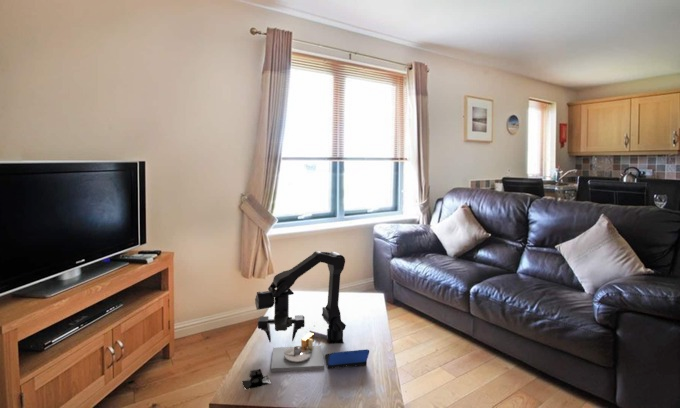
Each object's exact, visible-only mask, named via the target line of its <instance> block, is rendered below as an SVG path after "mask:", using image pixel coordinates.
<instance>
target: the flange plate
mask: <svg viewBox="0 0 680 408" xmlns="http://www.w3.org/2000/svg"><path fill="white" fill-rule="evenodd" d="M308 339H313V343H314V342H315V333H313V332H309V333H307V334H306V335H305V336H304V337H303V338H302V339H301V341H300V342H301V345H295V346H294V345H293V346H289V347H290V348H288V349H287V350H286V351H285V353H284V357H285V359H286V360H287V361H289V362H292V363H301V362H304V361H307V360H308V359H309V358H310V356H311V352H310V350H309V349H308V348H307V347H308Z"/></svg>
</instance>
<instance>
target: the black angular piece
mask: <svg viewBox="0 0 680 408" xmlns="http://www.w3.org/2000/svg"><path fill="white" fill-rule="evenodd" d="M248 377H249V379H245V380H242V382H243V383H242V386H243V385H244V387H245V388H246V389H247V390H252V389H255V388H260V387H263V386H267V385H271V384H272V382H271V380H270V378H269V375H263V372H262V370H261V368H259V369H253V370H250V372H249V375H248ZM244 387H243V388H244ZM249 388H250V389H249Z"/></svg>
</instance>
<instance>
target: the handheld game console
mask: <svg viewBox="0 0 680 408" xmlns="http://www.w3.org/2000/svg"><path fill="white" fill-rule="evenodd" d="M369 354H370V350H369V349H357V350H345V351H337V352H330V353H325V355H324V358H325V364H326V366H327V369H328V370H332V369H340V368H341V369H342V368H345V367H351V368H352V367H361V366H362V367H364V366H367V364H368V363H367V361H368V358H369Z"/></svg>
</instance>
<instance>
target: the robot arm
mask: <svg viewBox="0 0 680 408" xmlns="http://www.w3.org/2000/svg"><path fill="white" fill-rule="evenodd" d="M320 263H324V264H327V268H328V271H329V277H328V289H327V290H328V293H327V304H326V306H325V307H324V306H323V307H322V309H321V310H322V314H321V316H322V318H323V321H325V323H326V324H327V326H328V328H327V329H326V338H327V342H328V343H329V344H344V330H346V326H347V325H346V323H344V322H343V321H342V318H341V311H340V307H339V299H340V287H341V286H340V285H341V284H340V283H341V273H342V272H343V271H344V268H345V264H346V258H345V257H344V256H343V255H342V254H340V253H339V252H337V251H331V252H328V251H320V250H315V251H313V252H312V254H310V255H309V256H308V257H306V258H305V259H303V260H302V261H300V262H299V263H297V264H296V265H294V266H293V267H292V268H290V269H287V270H283V271H281V272H279V273H278V274H276V275H274V276H273V280H272V282H271V284H270V285H269V287H268V288H267V291H266V290H265V291H257V292H256V295H255V298H254V303H255V308H256V310H257V311H259V310H265V309H272V307H274V317H273V319H270V318H269V316H267V315H266V316H259V318H258V320H257V329H259V330H261V331H264V332H265V334H266V336H267V339H268V341H269V343H272V342H271V341H272V339H271V338H272V337H271V335H272V334H271V327H270V325H274V330H275V332H279V331H281V332H283V331H284V332H286V331H287V330H288V328H290V327H293V328H292V335H291V342H294V339H295V338H296V334H297V333H298V331H299V330H301V329H302V328H304V327H306V325H305V324H306V323H305V322H306V321H305V316H304V315H302V314H301V315H300V314H299V315H294V318H293V317H291V316H289V313H290V312H289V307H290V306H289V305H290V304H289V303H290V302H289V301H290V296H291V295H292V296H293V295H294V292H293V290H291V288H292V287H293V285H295V282H296V281H297V280H298V279H299V278H300V277H301V276H303V275H304V274H306V273H308V271H310V270H311V269H313V268H314V267H316V266H317V265H318V264H320Z"/></svg>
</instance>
